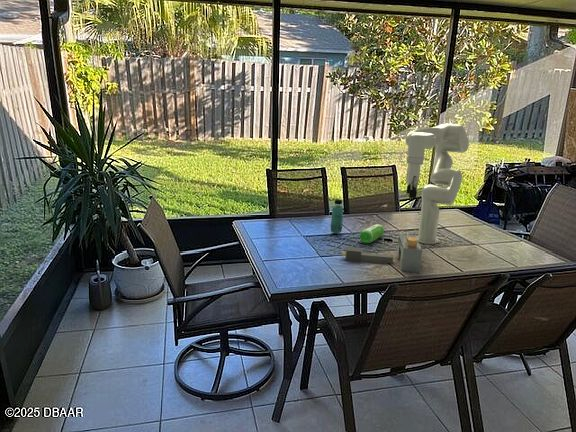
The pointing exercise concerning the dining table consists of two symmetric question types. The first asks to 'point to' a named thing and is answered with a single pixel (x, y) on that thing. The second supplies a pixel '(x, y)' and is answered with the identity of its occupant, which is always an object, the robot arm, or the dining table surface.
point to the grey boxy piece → (409, 253)
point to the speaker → (371, 233)
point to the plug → (365, 256)
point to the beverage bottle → (337, 217)
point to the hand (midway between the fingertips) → (411, 195)
